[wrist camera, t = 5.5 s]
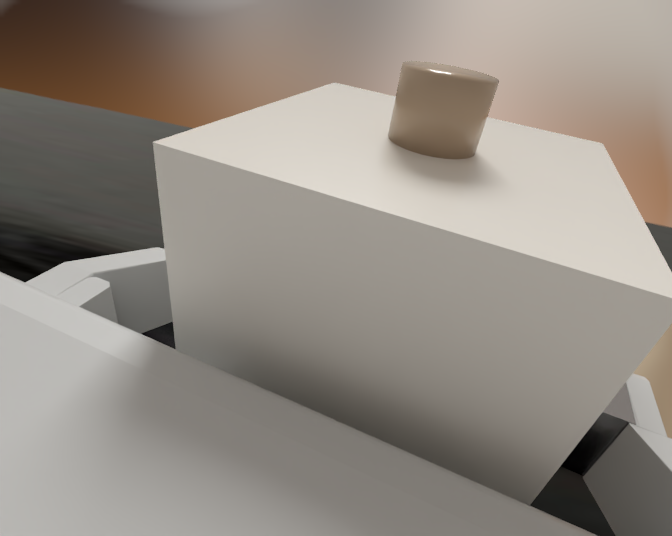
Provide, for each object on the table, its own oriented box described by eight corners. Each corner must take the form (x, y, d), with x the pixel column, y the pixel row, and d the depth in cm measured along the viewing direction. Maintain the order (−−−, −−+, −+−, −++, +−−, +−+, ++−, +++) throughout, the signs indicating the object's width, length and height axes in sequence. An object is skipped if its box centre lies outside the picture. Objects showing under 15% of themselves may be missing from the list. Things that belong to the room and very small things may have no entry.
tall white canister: (193, 505, 11) (142, 45, 5) (301, 351, 17) (340, 30, 10) (428, 634, 10) (774, 191, 3) (465, 418, 15) (630, 86, 9)
